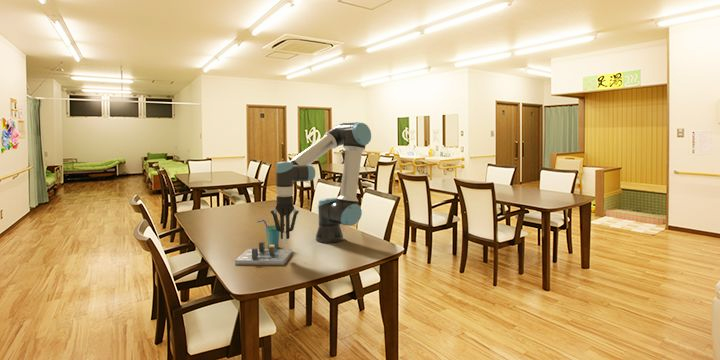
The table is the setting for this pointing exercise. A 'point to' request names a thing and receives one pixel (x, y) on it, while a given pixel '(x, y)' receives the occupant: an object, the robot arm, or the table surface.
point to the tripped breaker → (271, 249)
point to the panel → (263, 256)
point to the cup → (271, 234)
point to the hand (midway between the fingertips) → (285, 245)
